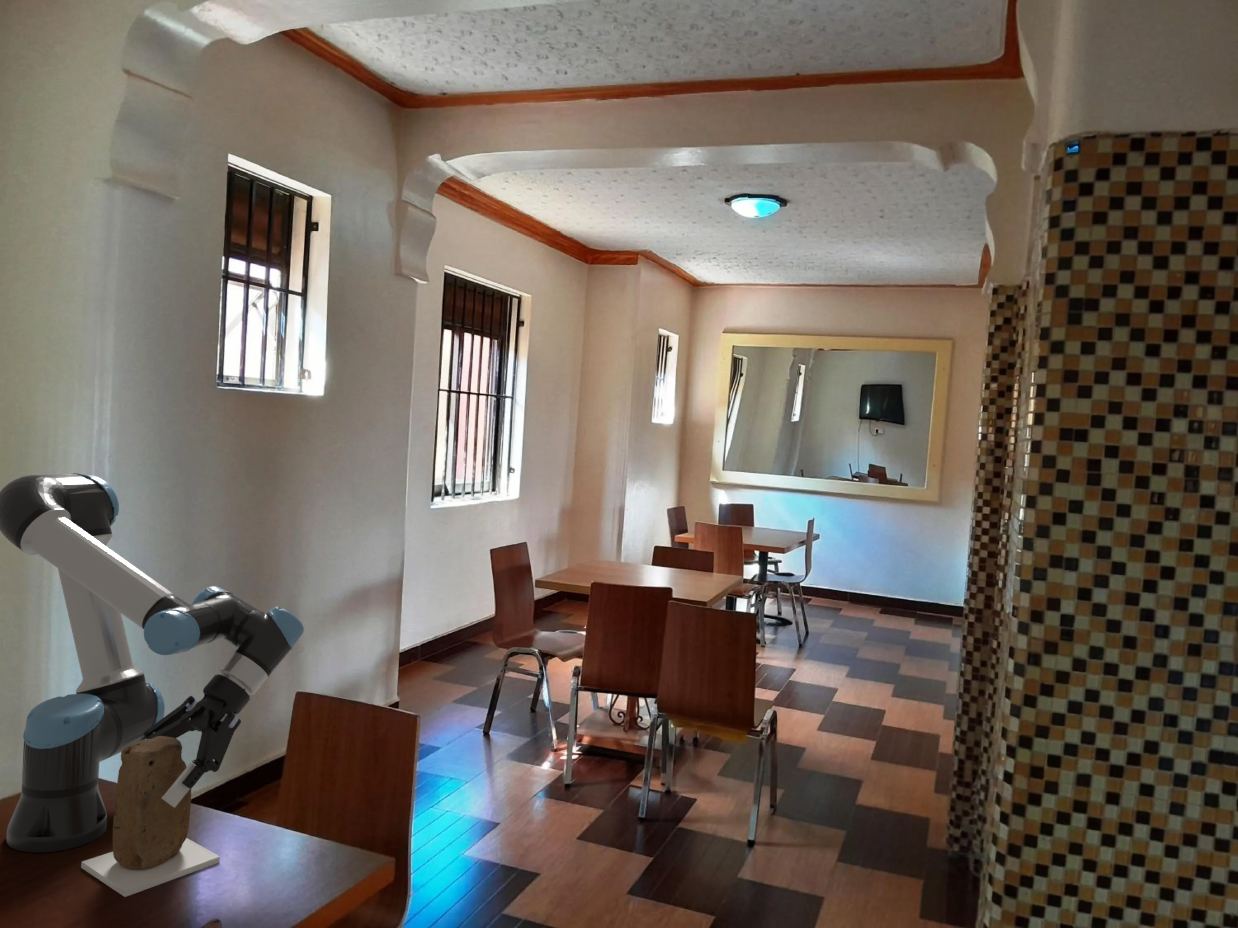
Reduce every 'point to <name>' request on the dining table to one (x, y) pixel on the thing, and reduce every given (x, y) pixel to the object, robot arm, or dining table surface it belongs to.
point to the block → (149, 804)
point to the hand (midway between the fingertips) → (145, 791)
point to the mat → (149, 869)
